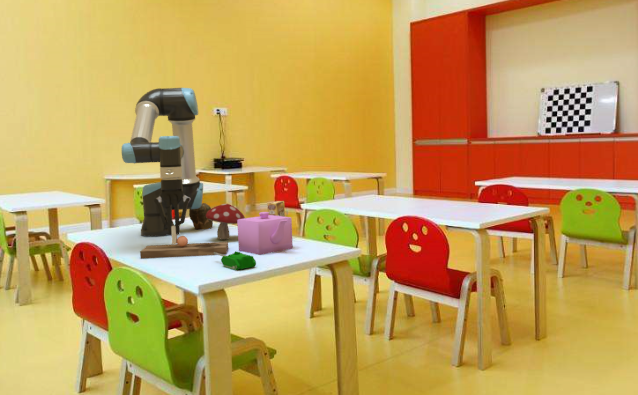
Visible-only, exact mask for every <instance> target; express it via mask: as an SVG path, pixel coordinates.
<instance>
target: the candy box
mask: <svg viewBox="0 0 638 395" xmlns="http://www.w3.org/2000/svg"><path fill="white" fill-rule="evenodd" d="M285 209H286V208H285V201H284V200H275V201H272V202H268V203H267V212H269V215H274V216H283V217H286V214H285V213H286V211H285Z"/></svg>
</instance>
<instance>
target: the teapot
mask: <svg viewBox="0 0 638 395" xmlns="http://www.w3.org/2000/svg"><path fill="white" fill-rule="evenodd" d="M258 214H259V215H258V216H254V217H252V216H251V217H246V218H245V219H238V220H237V224H236V225H237V239H238V240H237V241H238V242H237V243H238V252H239V251H240V252H244V253H249V254H253V255H257V256H261V255H265V254H271V252H272V253H278V252H281V251H285V250H286V249H288V250H291V249H292V248H294V247H293V225H292V224H293V223H292V217H291V216H285V217H283V216H274V215H269V212H268V211H261V212H259V213H258ZM286 251H287V250H286Z"/></svg>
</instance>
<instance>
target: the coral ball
mask: <svg viewBox="0 0 638 395" xmlns="http://www.w3.org/2000/svg"><path fill="white" fill-rule="evenodd" d="M188 242H189V240H188V238H187V236H185V235H180V236H179V237H178V236H177V244H178V245H179V246H180V247H184V246H186V245H187V244H189V243H188Z"/></svg>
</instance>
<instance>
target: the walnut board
mask: <svg viewBox="0 0 638 395" xmlns="http://www.w3.org/2000/svg"><path fill="white" fill-rule="evenodd" d="M228 251H229V242H228V241H217V242H216V241H215V242H198V243H195V242H194V243H193V242H192V243H187V245H186V246H184V247H180V246H179V245H178V244H172V243H171V244H155V245H154V244H151V245H146V246H145V247H144V248H142V249H141V251H140V257H139V258H140V259H141V260H142V259H157V258H158V259H160V258H162V259H163V258H178V257H179V258H180V257H198V256H216V255H215V254H213V253H214V252H216V253H218V254H222V255H227V254H228Z"/></svg>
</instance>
